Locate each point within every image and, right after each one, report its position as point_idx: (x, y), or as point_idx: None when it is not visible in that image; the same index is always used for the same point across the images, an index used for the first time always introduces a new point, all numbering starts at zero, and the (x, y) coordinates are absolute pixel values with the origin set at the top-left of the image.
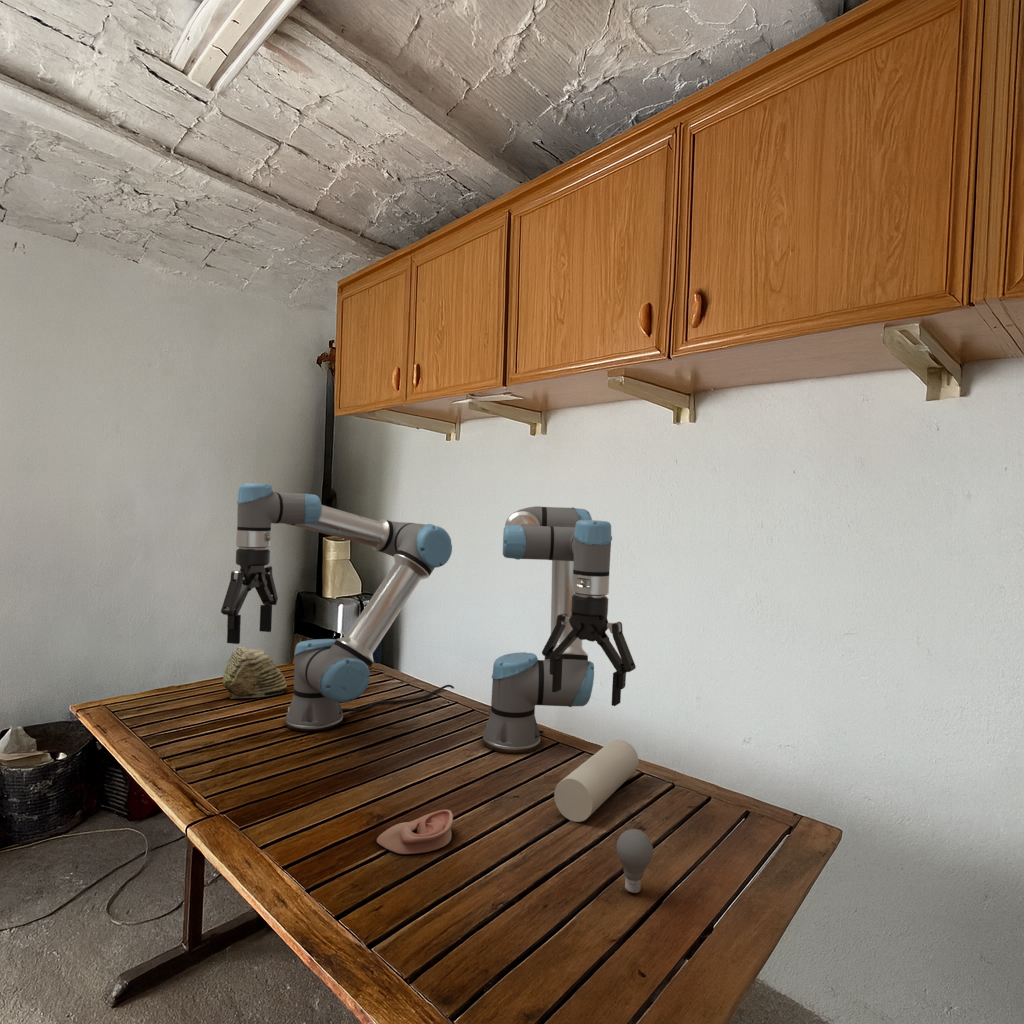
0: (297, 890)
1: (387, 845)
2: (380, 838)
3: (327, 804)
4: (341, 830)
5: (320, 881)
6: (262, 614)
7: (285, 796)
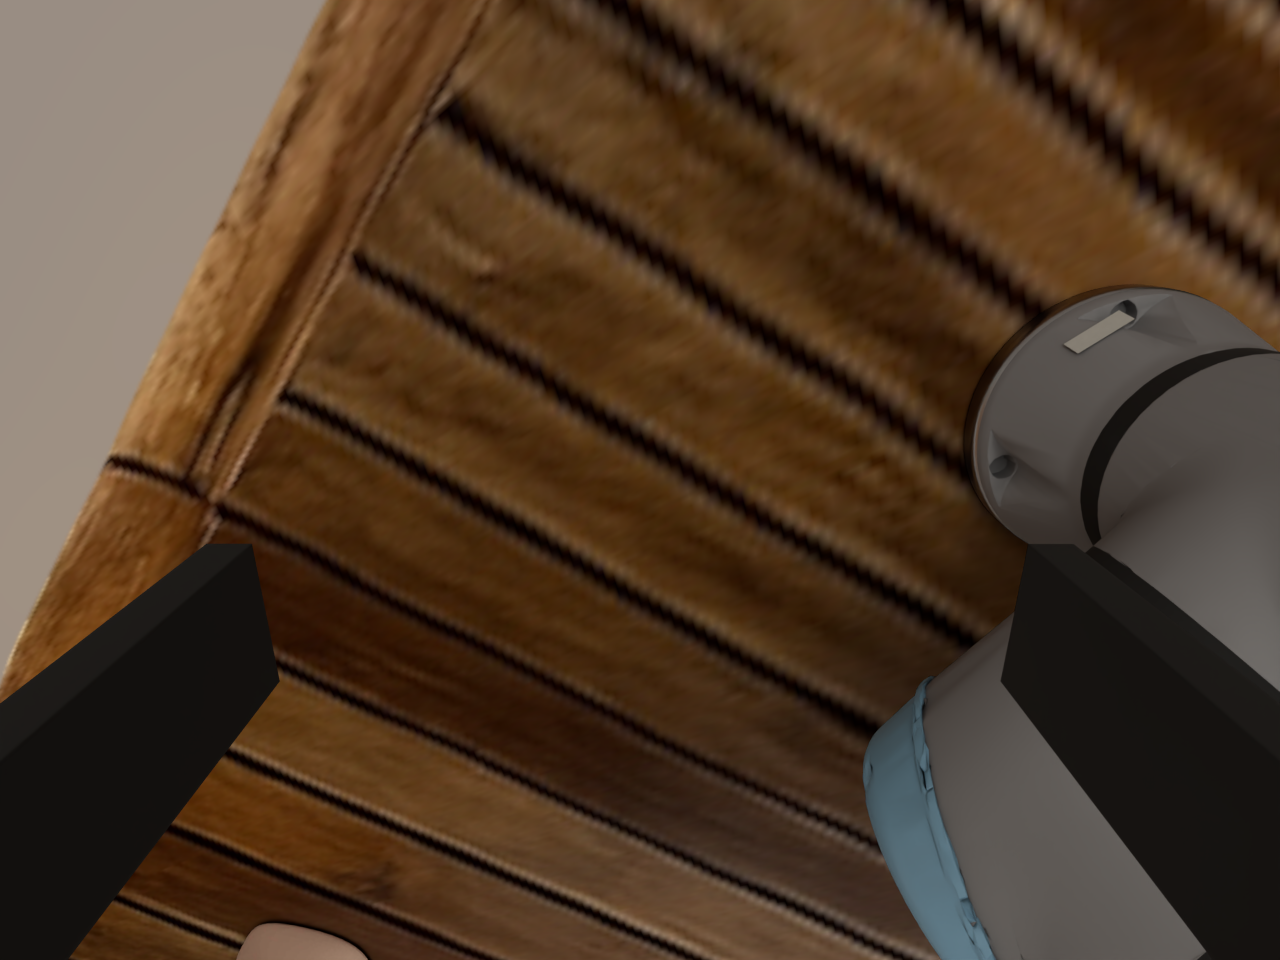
0: None
1: (242, 955)
2: (258, 939)
3: (393, 759)
4: (280, 837)
5: None
6: (1201, 753)
7: (393, 633)
